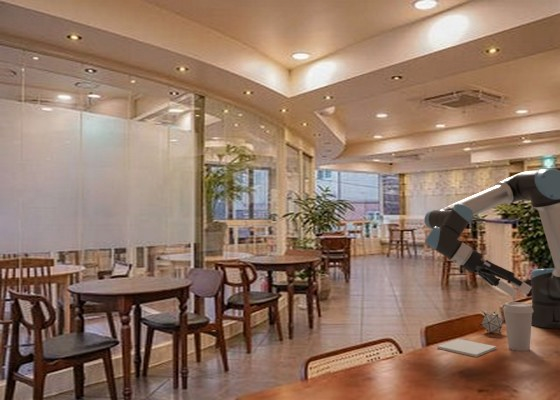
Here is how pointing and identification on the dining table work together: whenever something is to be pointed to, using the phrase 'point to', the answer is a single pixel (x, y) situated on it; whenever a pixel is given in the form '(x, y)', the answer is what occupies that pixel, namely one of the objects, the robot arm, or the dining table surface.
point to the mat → (467, 347)
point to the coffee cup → (518, 325)
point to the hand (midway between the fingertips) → (522, 292)
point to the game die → (492, 323)
